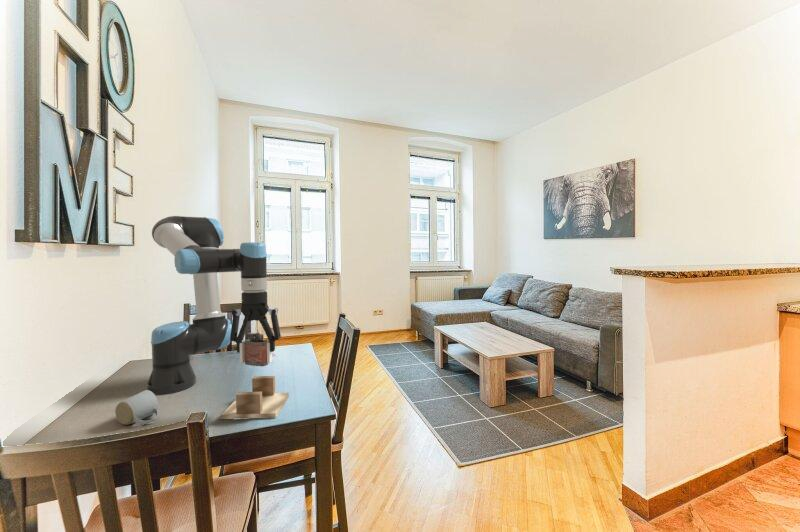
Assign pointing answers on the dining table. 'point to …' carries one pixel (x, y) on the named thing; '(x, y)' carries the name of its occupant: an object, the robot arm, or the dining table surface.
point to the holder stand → (257, 401)
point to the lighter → (255, 350)
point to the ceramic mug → (137, 408)
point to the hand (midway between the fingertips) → (256, 361)
